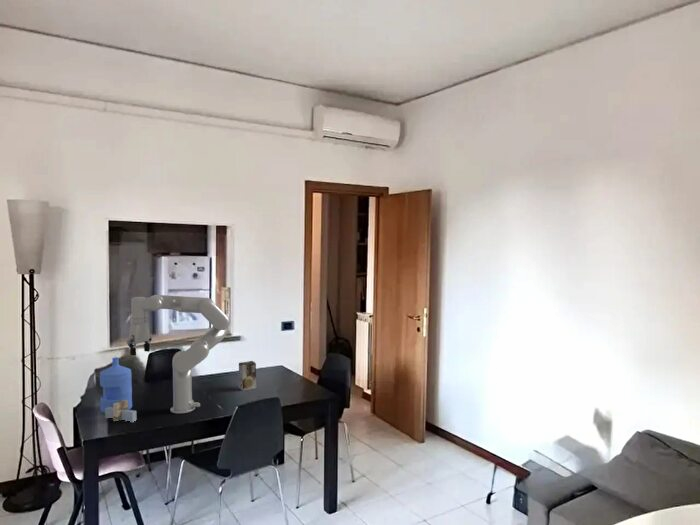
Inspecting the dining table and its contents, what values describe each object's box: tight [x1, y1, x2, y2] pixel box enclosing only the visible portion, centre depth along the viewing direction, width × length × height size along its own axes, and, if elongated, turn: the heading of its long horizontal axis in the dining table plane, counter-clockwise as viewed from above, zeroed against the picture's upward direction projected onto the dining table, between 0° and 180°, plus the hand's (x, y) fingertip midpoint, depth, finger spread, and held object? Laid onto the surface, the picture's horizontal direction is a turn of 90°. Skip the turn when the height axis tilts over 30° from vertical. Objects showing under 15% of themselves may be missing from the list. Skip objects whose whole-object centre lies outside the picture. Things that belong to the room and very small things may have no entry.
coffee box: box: [238, 360, 257, 392], centre depth 311 cm, size 9×6×16 cm
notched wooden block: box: [113, 400, 128, 422], centre depth 258 cm, size 7×3×9 cm, turn 160°
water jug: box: [99, 356, 133, 414], centre depth 273 cm, size 16×16×28 cm
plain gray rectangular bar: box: [104, 407, 138, 423], centre depth 258 cm, size 18×3×5 cm, turn 69°
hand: (140, 353), depth 265 cm, fingers open, 9 cm apart
